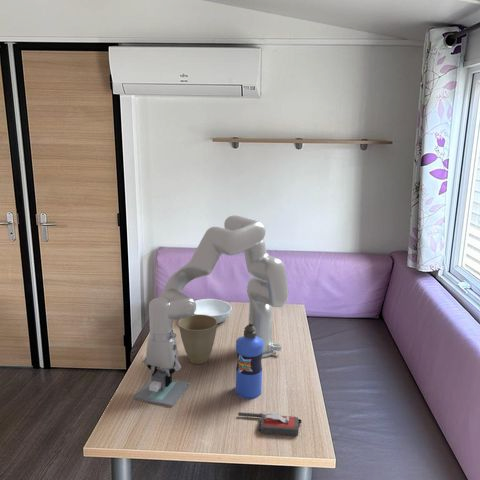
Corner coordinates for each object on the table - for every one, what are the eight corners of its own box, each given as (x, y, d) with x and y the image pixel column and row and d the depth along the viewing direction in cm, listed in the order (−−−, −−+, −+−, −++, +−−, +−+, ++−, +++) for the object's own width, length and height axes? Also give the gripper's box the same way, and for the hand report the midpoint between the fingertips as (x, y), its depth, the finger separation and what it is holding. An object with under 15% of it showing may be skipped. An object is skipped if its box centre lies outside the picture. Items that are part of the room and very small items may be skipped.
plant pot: (213, 348, 191) (214, 312, 187) (220, 367, 177) (220, 328, 173) (177, 351, 188) (177, 315, 184) (180, 370, 174) (180, 331, 170)
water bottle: (253, 402, 156) (255, 333, 149) (229, 393, 160) (231, 326, 154) (266, 389, 163) (269, 323, 157) (244, 381, 168) (245, 317, 162)
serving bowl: (230, 330, 209) (231, 316, 207) (184, 329, 209) (184, 315, 207) (232, 311, 229) (232, 298, 227) (189, 310, 229) (189, 297, 227)
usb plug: (161, 378, 163) (161, 366, 162) (171, 380, 162) (171, 368, 161) (147, 393, 154) (147, 381, 153) (158, 395, 153) (158, 383, 152)
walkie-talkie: (301, 420, 148) (238, 415, 149) (301, 408, 146) (238, 403, 148) (302, 438, 139) (235, 433, 141) (302, 425, 138) (235, 420, 140)
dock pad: (189, 384, 165) (189, 382, 165) (172, 407, 152) (172, 404, 152) (153, 377, 169) (153, 375, 169) (134, 399, 156) (134, 396, 156)
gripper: (188, 333, 156) (189, 382, 161) (144, 326, 161) (145, 373, 165) (179, 343, 149) (180, 393, 154) (133, 335, 154) (135, 384, 159)
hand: (162, 382), depth 160 cm, fingers closed on usb plug, 4 cm apart
